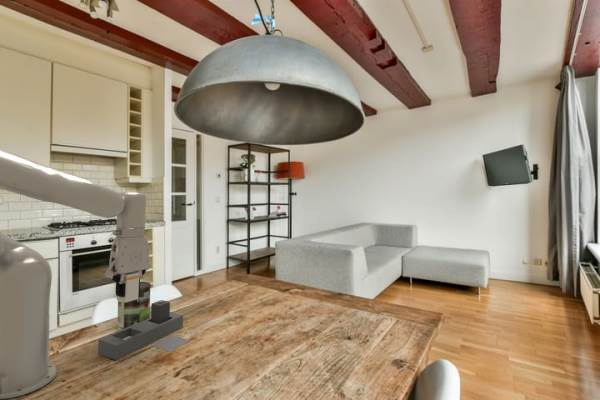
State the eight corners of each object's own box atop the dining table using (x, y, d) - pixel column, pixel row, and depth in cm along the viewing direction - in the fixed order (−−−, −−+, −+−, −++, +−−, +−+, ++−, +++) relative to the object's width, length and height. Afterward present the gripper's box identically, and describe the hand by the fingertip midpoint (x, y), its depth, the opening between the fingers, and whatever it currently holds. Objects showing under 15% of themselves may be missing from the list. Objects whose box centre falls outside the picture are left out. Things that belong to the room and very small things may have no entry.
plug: (125, 302, 88) (126, 273, 88) (116, 300, 89) (117, 271, 89) (138, 298, 91) (139, 270, 91) (129, 296, 93) (130, 268, 93)
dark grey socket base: (116, 361, 84) (116, 345, 84) (98, 354, 87) (98, 339, 87) (182, 327, 106) (182, 315, 106) (166, 323, 109) (166, 311, 109)
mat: (170, 353, 89) (170, 351, 89) (151, 346, 92) (151, 345, 92) (190, 341, 96) (190, 340, 96) (172, 336, 100) (172, 334, 99)
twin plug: (159, 329, 99) (160, 303, 99) (151, 327, 101) (151, 301, 101) (169, 325, 103) (169, 300, 103) (160, 322, 104) (161, 298, 104)
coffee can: (156, 320, 111) (157, 282, 111) (135, 333, 101) (136, 291, 101) (132, 317, 113) (132, 280, 113) (109, 329, 103) (110, 288, 103)
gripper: (111, 236, 81) (107, 304, 81) (162, 232, 96) (160, 289, 96) (93, 234, 84) (90, 299, 84) (146, 230, 99) (144, 285, 99)
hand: (127, 293), depth 90 cm, fingers closed on plug, 4 cm apart
